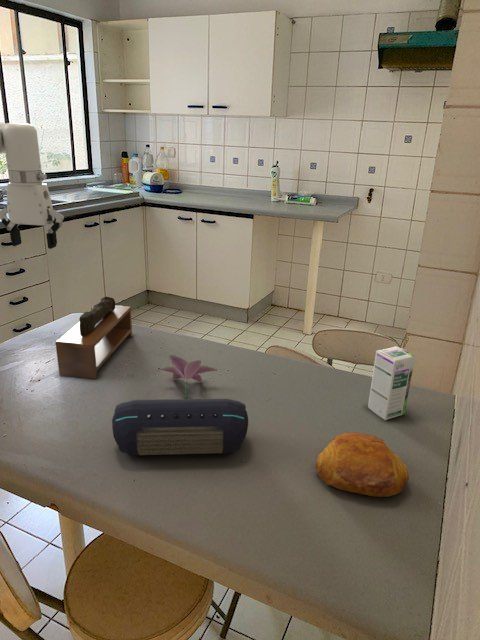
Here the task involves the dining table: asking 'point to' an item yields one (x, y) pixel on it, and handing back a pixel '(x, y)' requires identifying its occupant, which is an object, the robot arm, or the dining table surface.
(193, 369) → the lily
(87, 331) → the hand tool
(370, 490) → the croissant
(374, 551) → the dining table surface
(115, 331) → the shelf stand
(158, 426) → the portable speaker
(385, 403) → the syrup box
